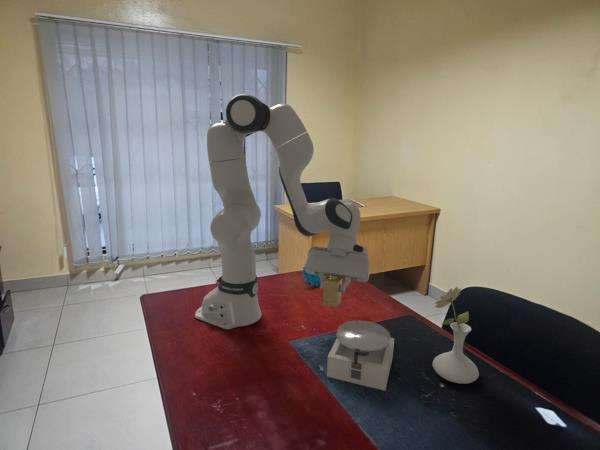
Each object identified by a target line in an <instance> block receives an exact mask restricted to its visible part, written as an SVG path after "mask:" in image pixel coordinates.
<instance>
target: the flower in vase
mask: <svg viewBox="0 0 600 450" xmlns="http://www.w3.org/2000/svg"><path fill="white" fill-rule="evenodd" d="M461 291H462V288H461V287H460V288H459V286H456V287H454V288H449V289H448V291H447V292H446V293H445V294H442V295H440V297H439V299H438V300H437V301H436V302H435V303H434V304H435V305H434V307H435V308H437V309H440V308H443V307H445V306H448V305H449V304H451V307H452V309H453V314H454V318H453V317H450V318H447V319H445V320H444V321H443V322H442V323H441V326H443V325H446V326H447V325H449V326H450V328H451V330H452V331H453V347H452V350H450V351H447V352H443V353H440V354H438V355H437V356H435V357H434V359H433V360H432V368H433V369H434V371H435V372H436V374H437V375H438V376H440V377H441V378H443V379H445V380H447V381H449V382H451V383H454V384H456V383H457V384H464V385H465V384H471V383H473V382H475V381H476V380H478V378H480V377H479V376H480V372H479V369H478V367H477V366H476V364H475V363H474V362H473V361H472V359H470V358H469V357H468V356H467V355H465V354H464V342H465V339H466V336H468V334H469V333H471V331H473V330H472V327H471V326H470V325H468V324H466V323H468V322H469V319H470V313H469V311H465V312H464V313H462V314H458V315H457V314H456V310H455V309H456V308H455V305H454V303H453V301H455V300H456V299H457V298H458V297H459V295H460V294H461Z"/></svg>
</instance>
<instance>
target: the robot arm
mask: <svg viewBox="0 0 600 450" xmlns="http://www.w3.org/2000/svg"><path fill="white" fill-rule="evenodd" d="M225 117H226V120H223V121H222V122H216V123H215V124H213V125H211V126H209V128H208V129H207V132H206V133H207V134H206V148H207V149H206V150H207V158H208V164H209V170H210V174H211V175H210V176H211V181H212V186H213V189H214V190H215V191H216V192H217V193H218V195H219V197H220V200H221V202H222V205H223V209H221V210H219V211H218V212H217V213H216V215H215V216H214V217H213V219H212V220H211V223H210V225H209V227H210V233H211V236H212V238H213V239H214V240H215V241H216V242H217V246H218V249H219V253H220V258H221V272H222V274H221V276H219V277H218V279H216V280H215V285H217V284H218V286H216V287H215V288H213V290H211V291H210V292H208V293H207V294H206V295H205V296H204V297H203V300H202V303H201V306H200V307H199V308H198V309H197V310H196V311H195V314H194V318H196V319H198V320H200V321H203V322H206V323H208V324H210V325H213V326H216V327H219V328H222V329H224V330H232V329H234V328H238V327H245V326H250V325H252V324H254V323H257V322H258V321H259V320H260V319H261V318H262V311H261V309H260V303H259V298H258V291H259V287H258V286H259V285H258V284H259V283H258V276H257V260H256V259H257V258H256V253H255V251H254V248H253V244H252V241H251V236H252V235H251V233H252V232H253V231H254V230H255V229H256V228H257V227H258V225H259V223H260V220H261V217H262V212H261V209H260V206H259V205H258V204H257V202H256V201H257V200H256V199H255V195H254V193H253V190H252V186H251V183H250V179H249V173H248V167H247V161H246V155H245V149H244V147H245V146H244V141H245V138H247V137H249V136H251V135H253V134H255V133H257V132H263V133H264V134H266V135H267V137H268V138H269V140H270V142H271V143H272V145H273V147H274V150H275V151H276V153H277V157H278V160H279V161H278V162H279V167H278V175H279V177H280V181H281V184H282V187H283V191H284V192H285V195H286V198H287V200H288V203H289V206H290V209H291V212H292V215H293V220H294V224H295V227H296V230H297V231H298V232H299V233H300V234H302V235H303V236H305V237H313V236H317V235H318V234H320V233H324V232H329V233H330V236H329V239H328V243H327V247H324V246H316V245H315V246H313V247H310V248H309V250H308V251H307V257H306V260H305V263H304V266H303V267H304V268H305V270H306V272H307V273H308V274H314V275H319V277H320V280H321V284H320V285H319V287H320V289H322V290H324V280H325V279H326V277H327V276H328V275H336V276H337V277H342V280H345V282H344V283H342V285H340V289H339V291H340V292H341V293H345V292H346V288H347V287H348V286H349V285H350V284H351V282H352V281H355V282H361V283H366V282H368V281H369V279H370V262H369V251H368V248H366V247H365V246H363V245H361V244H358V243H357V236H359V231H360V226H361V212H360V209H359V207H358V206H356V204H353V203H351V202H343V201H340V200H339V199H337V198H335V197H333V198H327V199H324V200H321V201H319V202H316V203H313V204H311V203H309V202H308V200H307V197H306V194H305V192H304V189H303V186H302V184H301V175H302V173H303V171H304V170H305V169H306V168H307V166H308V165H309V164H310V162H311V161H312V159H313V156H314V150H315V148H314V144H313V141H312V139H311V136H310V134H309V132H308V131H307V129H306V126H305V125H304V123H303V122H302V120H301V118H300V117H299V115H298V113H297V112H296V111H295V110H294V108H293V107H292V106H291V105H290V104H287V103H278V104H275V105H273V106H268V105H267V104H265V103H264V102H262V101H261V100H260V99H259V98H258V97H256V96H253V95H251V94H248V93H241V94H237V95H235V96H233V97H232V98H231V99H230V100H229V101H228V103H227V105H226V108H225ZM305 270H304V271H305Z"/></svg>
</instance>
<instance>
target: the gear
mask: <svg viewBox="0 0 600 450" xmlns="http://www.w3.org/2000/svg"><path fill="white" fill-rule="evenodd" d="M302 269H303V270H301V274H303V275H302V278H303V279H304V283H306V284H308V285H309V283H310V282H311V283H310V286H311V287H317V288H318V287H320V285H321V280H320V277H319V275H314V274H308V273H307V272H306V270H305V268H304V266H303V267H302Z"/></svg>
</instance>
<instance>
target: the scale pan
mask: <svg viewBox="0 0 600 450" xmlns="http://www.w3.org/2000/svg"><path fill="white" fill-rule="evenodd" d="M390 338H391V334H390V332H389V331H388V329H387V328H385V327H384V326H382V325H380V324H379V323H376V322H373V321H368V320H362V319H361V320H359V319H358V320H356V319H355V320H349V321H345V322H343V323H342V324H340V325H339V326H338V327H337V330H336V339H338V341H339V342H340V343H341V344H342V345H344V346H345V347H347V348H349V349H352V350H355V353H354V362H353V366H356V367H358V355H359V356H367V355H369V354H370V352H376V351H380V350H383V349H385V348H386V347H387V346H388V345H389V343H390Z"/></svg>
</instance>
